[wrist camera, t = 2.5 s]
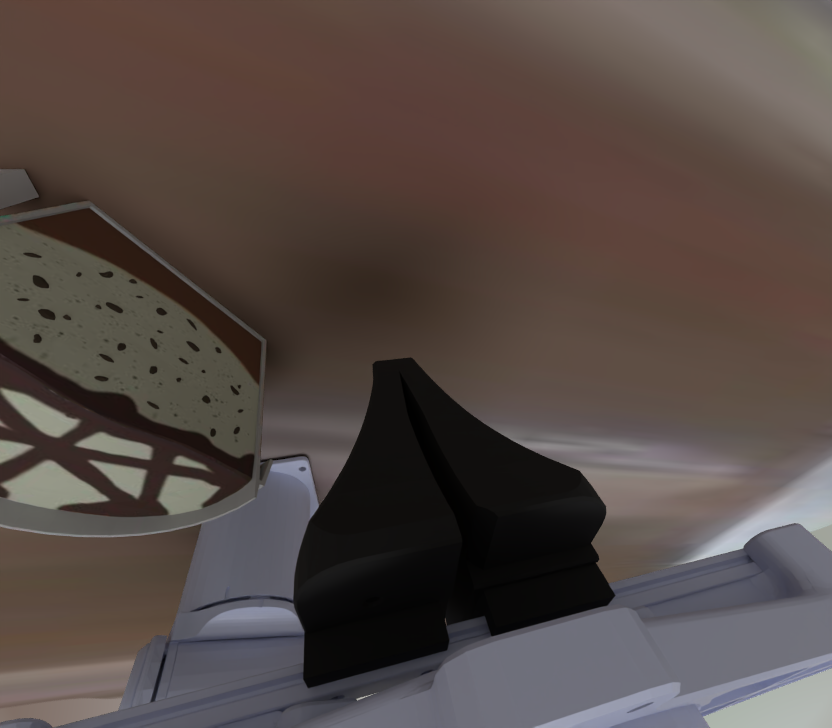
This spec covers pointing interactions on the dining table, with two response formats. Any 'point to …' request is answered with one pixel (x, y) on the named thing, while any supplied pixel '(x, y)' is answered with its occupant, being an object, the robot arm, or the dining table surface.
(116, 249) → the food container
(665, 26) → the dining table surface
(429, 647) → the robot arm
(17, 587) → the dining table surface
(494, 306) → the dining table surface
